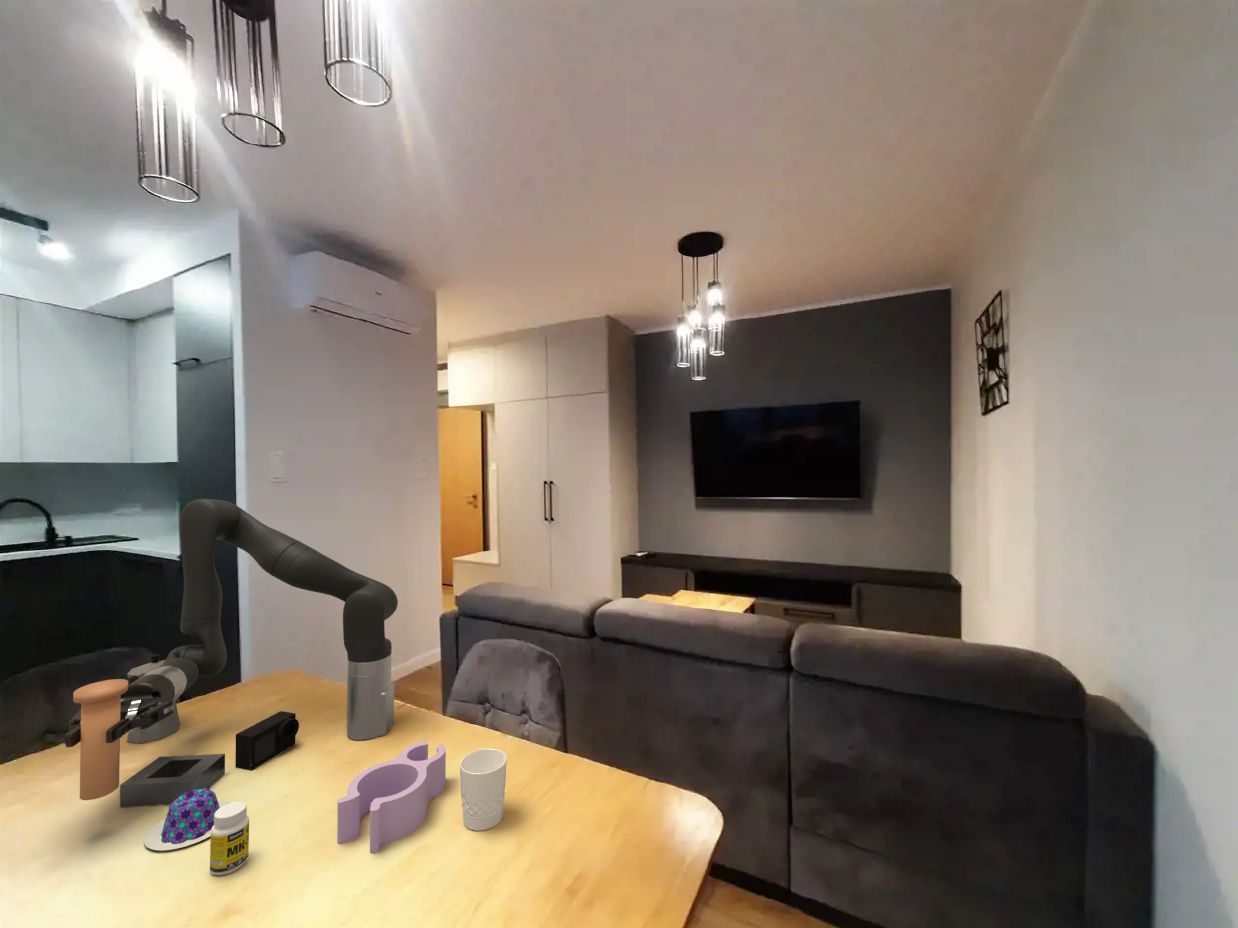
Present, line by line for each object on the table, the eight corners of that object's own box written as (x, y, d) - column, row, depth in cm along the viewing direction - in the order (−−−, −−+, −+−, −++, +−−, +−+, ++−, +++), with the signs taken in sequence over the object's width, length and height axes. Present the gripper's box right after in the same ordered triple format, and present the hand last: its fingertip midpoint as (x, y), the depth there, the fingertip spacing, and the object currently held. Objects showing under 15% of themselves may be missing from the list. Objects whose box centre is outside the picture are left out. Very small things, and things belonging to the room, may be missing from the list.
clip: (408, 772, 103) (408, 737, 103) (461, 784, 100) (462, 748, 100) (324, 841, 84) (324, 798, 84) (386, 858, 81) (386, 814, 81)
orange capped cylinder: (136, 778, 89) (138, 678, 89) (103, 802, 82) (105, 695, 82) (96, 779, 88) (97, 679, 88) (59, 804, 82) (61, 696, 82)
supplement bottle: (227, 879, 76) (228, 821, 76) (201, 873, 77) (202, 817, 77) (256, 855, 81) (257, 801, 81) (231, 850, 82) (232, 797, 82)
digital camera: (256, 772, 103) (256, 737, 103) (234, 768, 104) (235, 733, 104) (300, 745, 113) (300, 713, 113) (280, 741, 114) (280, 710, 115)
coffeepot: (152, 720, 123) (153, 645, 124) (196, 717, 125) (197, 643, 125) (98, 756, 108) (99, 670, 108) (149, 752, 110) (150, 668, 110)
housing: (224, 773, 102) (225, 753, 102) (192, 803, 93) (192, 780, 93) (159, 777, 101) (159, 756, 101) (119, 807, 92) (120, 784, 92)
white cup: (514, 808, 92) (515, 752, 92) (489, 838, 85) (490, 777, 85) (477, 799, 95) (477, 744, 95) (449, 827, 87) (450, 768, 88)
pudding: (163, 815, 91) (163, 785, 91) (245, 798, 95) (245, 770, 95) (128, 863, 80) (129, 829, 80) (223, 842, 84) (223, 810, 84)
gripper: (107, 677, 97) (32, 721, 81) (197, 670, 101) (143, 710, 84) (106, 716, 97) (31, 769, 81) (196, 708, 101) (142, 756, 84)
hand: (89, 738), depth 83 cm, fingers closed on orange capped cylinder, 4 cm apart
